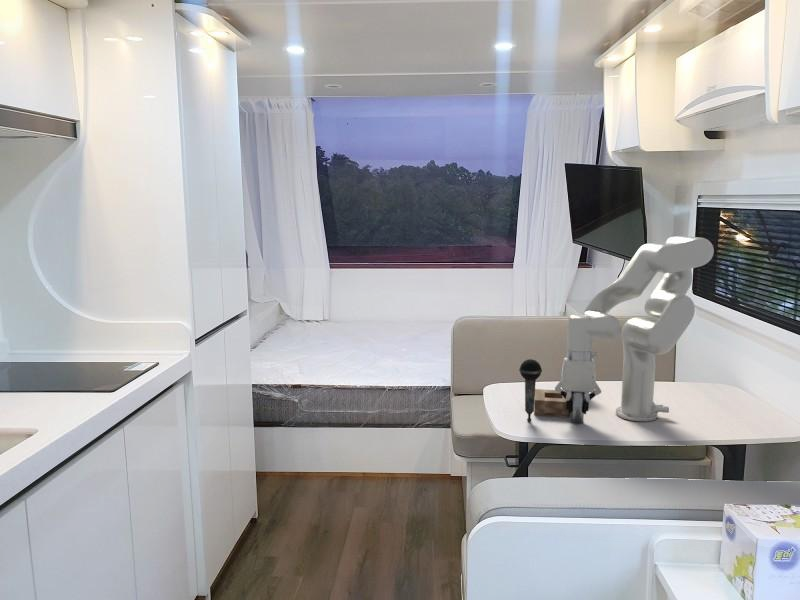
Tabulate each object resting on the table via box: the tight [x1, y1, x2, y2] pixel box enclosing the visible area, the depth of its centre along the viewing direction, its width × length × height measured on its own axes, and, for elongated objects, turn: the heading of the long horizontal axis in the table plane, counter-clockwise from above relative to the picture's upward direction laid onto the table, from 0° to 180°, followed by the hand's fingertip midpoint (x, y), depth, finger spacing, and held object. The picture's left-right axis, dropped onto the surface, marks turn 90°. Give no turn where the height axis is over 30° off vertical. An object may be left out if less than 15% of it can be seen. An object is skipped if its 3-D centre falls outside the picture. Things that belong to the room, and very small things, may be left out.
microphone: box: [518, 358, 543, 423], centre depth 197 cm, size 7×7×20 cm
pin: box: [569, 392, 585, 425], centre depth 197 cm, size 4×4×10 cm
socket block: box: [533, 388, 571, 418], centre depth 209 cm, size 12×12×5 cm
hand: (577, 411), depth 197 cm, fingers closed on pin, 4 cm apart
